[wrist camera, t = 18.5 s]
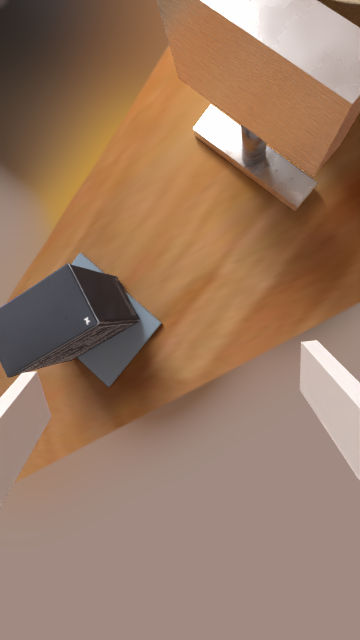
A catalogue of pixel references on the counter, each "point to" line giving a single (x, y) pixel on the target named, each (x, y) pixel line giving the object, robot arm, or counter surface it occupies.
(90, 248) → the counter surface
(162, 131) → the counter surface
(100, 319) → the small box
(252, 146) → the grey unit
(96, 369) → the mat
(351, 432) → the robot arm
